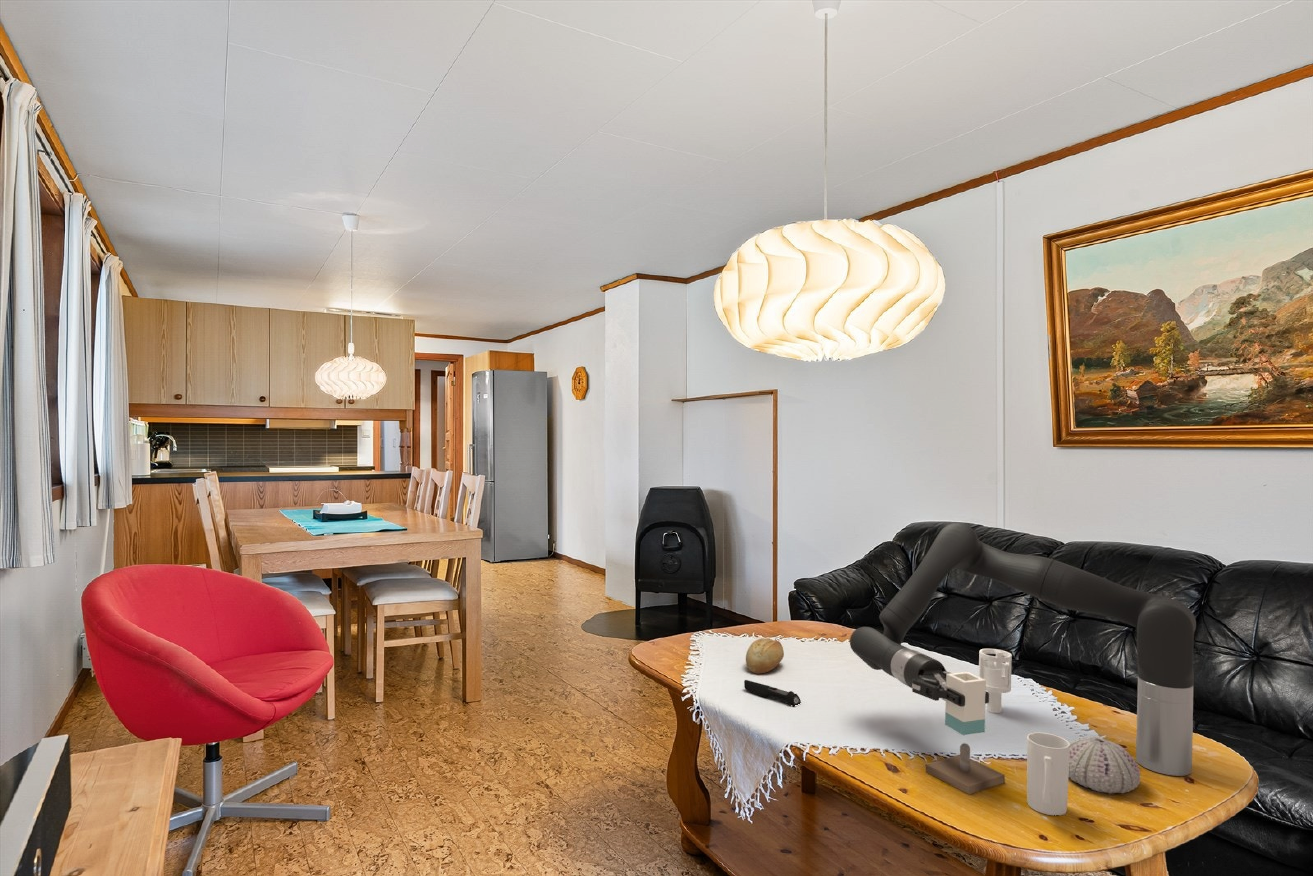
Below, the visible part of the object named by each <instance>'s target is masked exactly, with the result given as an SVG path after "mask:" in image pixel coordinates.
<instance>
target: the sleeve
mask: <svg viewBox="0 0 1313 876" xmlns="http://www.w3.org/2000/svg"><path fill="white" fill-rule="evenodd" d="M946 686H948V687H949V689H953V690H955V691H957V692H959V693H961V694H963V695H964V696H965V706H963V707H960V706H958V705H956V704H954V703H952V702H951V701H945V710H944V711H945V715H944V716H945V717H944V718H945V719H944V721H945V722H944V726H946V727H948V728H951V729H952V730H953V731H955V732H957V733H958V734H961V735H962V736H966V735H974V734H982V733H985V731H986V727H985V726H986V704H985V693H986V680H985V679H982V678H980V677H979V675H975V674H973V673H971V672H969V671H961V672H950V674H946Z"/></svg>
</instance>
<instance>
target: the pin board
mask: <svg viewBox="0 0 1313 876" xmlns="http://www.w3.org/2000/svg"><path fill="white" fill-rule="evenodd" d="M925 773H927V774H929V775H931V776H933V777H935V778H936V779H939V781H942V782H944V783H946V784H948V785H949V786H952V787H954V789H955V788H956V789H957V790H959V791H961V792H963V793H965V794H968V795H971V794H974V793H977V792H980V791H984V790H987V789H989V788H992V787H995V786H998V785H1001V784H1004V783H1005V782H1006V781H1005V777H1006V776H1005V774H1004V773H1001V772H999V771H998V770H995V769H994V768H990V767H989V766H987V765H985V764H982V763H980V762H979V761H976V760H975V759H972V758H971V747H970V745H969V744H968V743H965V742H964V743H961V744H960V746H959V754H957V755H956V754H955V755H953V756H949V757H947V758H942V759H939V760H936V761H933V762H930V763H926V764H925Z"/></svg>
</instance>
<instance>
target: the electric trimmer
mask: <svg viewBox="0 0 1313 876" xmlns="http://www.w3.org/2000/svg"><path fill="white" fill-rule="evenodd" d="M743 684H744V685H743V686H744V687H743V688H744V689H745V690H747V691H748V692H751V693H753V694H756V695H758V696H760V697H761V698H765V697H767V698H769V699H773V700H776V701H778V700H779V702H781V701H782V703H784V704H788V705H789V706H790V705H793V707H794V706H795V705H798V704H800V703H801V704H802V701H801V698H800V696H799V695H798V693H795V692H794V691H792V690H789V691H786V690H782V689H780V688H777V687H773V686H771V685H766V684H763V683H759V682H755V681H752V680H749V679H744V681H743ZM801 704H800V705H801ZM798 706H799V705H798Z"/></svg>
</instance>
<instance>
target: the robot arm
mask: <svg viewBox="0 0 1313 876" xmlns="http://www.w3.org/2000/svg"><path fill="white" fill-rule="evenodd" d="M953 569H955V570H957V571H960V572H963V573H964V572H965V573H967V574H972V575H975V576H979V577H982V578H986V579H989V580H992V581H995V582H998V583H1000V584H1003V585H1005V586H1007V587H1010V588H1012V589H1014V590H1017V591H1019V592H1022V593H1024V594H1026V595H1029V596H1031V597H1033V598H1037V599H1039V600H1042V601H1044V602H1046V603H1049V604H1052V605H1055V606H1057V607H1060V608H1062V609H1063V608H1064V609H1065V610H1066V609H1067V610H1070V611H1071V610H1072V611H1075V612H1080V613H1086V614H1092V615H1098V616H1103V617H1107V618H1111V619H1114V620H1117V621H1120V622H1123V623H1124V624H1126V625H1129V626H1131V627H1134V628H1136V664H1137V700H1136V701H1137V702H1136V703H1137V707H1136V708H1137V709H1136V737H1135V738H1136V740H1135V743H1136V745H1135V761H1136V763H1137V764H1138V765H1140V766H1141V767H1143V768H1145V769H1147V770H1149V771H1153V772H1155V773H1159V774H1162V775H1168V776H1175V777H1183V776H1189V775H1191V774H1192V767H1193V741H1194V740H1193V733H1194V732H1193V730H1194V720H1193V719H1194V717H1193V716H1194V715H1193V713H1194V682H1195V681H1194V678H1195V676H1194V675H1195V674H1194V673H1195V672H1194V643H1195V642H1194V640H1195V639H1194V638H1195V631H1196V629H1197V621H1196V620H1197V619H1196V617H1195V615H1194V613H1193V611H1192V610H1191V608H1189V607H1188V606H1187V605H1186V604H1185V603H1182V602H1180V600H1177V599H1174V598H1172V597H1167V596H1162V595H1158V594H1154V593H1150V592H1146V591H1142V590H1139V589H1134V588H1131V587H1127V586H1125V585H1121V584H1118V583H1117V582H1113V581H1111V580H1109V579H1107V578H1104V577H1101V576H1099V575H1097V574H1094V573H1091V572H1089V571H1086V570H1084V569H1081V568H1078V567H1076V566H1074V565H1073V566H1072V565H1070V564H1067V563H1066V562H1065V563H1064V562H1062V561H1059V560H1056V559H1053V558H1049V557H1045V556H1041V555H1040V556H1039V555H1034V554H1021V553H1014V552H1013V553H1012V552H1007V551H1004V550H1002V549H1000V548H996V547H994V546H991V545H989V544H987V543H984V542H982V541H981V540H979V537H978V535H977V533H976V531H975V529H973V527H971V526H970V525H968V524H966V523H964V522H953V523H949V524H947V525H945V526H944V527H943V528H942V529H941V530H940V531H939V533H938V534H937V536H936V538H935V539H934V541H933V543H932V544H931V546H930V547H929V550H928V551H927V553H926V555H924V557H923V559H922V560H921V562H920V564H919V565H918V566H917V568H916V570H915V571H914V572H913V573H912V575H911V576H910V577H909V579H907V581H906V583H905V584H904V585H903V586H902V587H901V589H900V590H898V592H897V593H896V594H895V595H894V596H893V598H892V599H891V600H890V601H889V602H888V604H886V606H885V607H884V608H883V609H882V610H881V612H880V613H879V617H878V618H879V620H880V623H881V624H882V625H883V628H884V629H883V633H881V632H880V631H878V630H877V629H875V628H873V627H870V626H860V627H858V628H856V629H855V630H854V631H853V632H852V633H851V635H850V638H849V645H850V649H851V650H852V653H854V654H855V655H856V656H858V658H859V659H860V660H862V662H864V663H865V664H866V665H867V666H868V667H870V668H871V669H873V670H874V671H875V670H876V671H881V670H882V671H883V672H884V673H885V674H887V675H889V676H891V677H892V678H895V679H897V681H899V682H900V683H901V684H903V685H904V686H905V685H906V687H908V688H910V689H912V690H911V691H912V693H915V694H917V695H920V696H923V697H925V698H927V699H930V700H932V701H939V700H940V699H941V700H943V701H945V702H946V701H951V702H952V703H954V704H956V705H958V706H960V707H963V706H965V696H964V695H963V694H961V693H959V692H957V691H955V690H953V689H949V687H948V686H946V674H950V673H951V672H950V671H947V669H946V667H945V666H944V664H943V663H942V662H941V661H939V660H937V659H936V658H934V657H931V656H929V655H927V654H924V653H922V652H919V651H918V650H914V649H911V648H908V647H907V646H904V645H903V641H904V638H905V636H906V634H907V633H908V631H909V630H910V629H911V628H912V627H913V626H914V624H915V623H916V622H917V621H918V620H919V618H920V617H921V616H922V614H923V613H924V612H925V611H926V609H927V607H928V606H929V605H930V602H931V600H932V599H933V597H934V596H935V595H934V594H935V593H936V592H937V589H938V588H939V586H940V584H942V582H943V580H944V579H945V578H946V576H947V575H948V574H949V573H950V572H951V571H953ZM987 703H989V693H988V691H986V693H985V705H986V704H987Z"/></svg>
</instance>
